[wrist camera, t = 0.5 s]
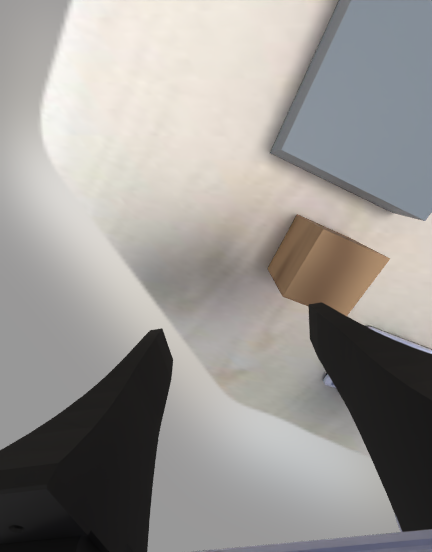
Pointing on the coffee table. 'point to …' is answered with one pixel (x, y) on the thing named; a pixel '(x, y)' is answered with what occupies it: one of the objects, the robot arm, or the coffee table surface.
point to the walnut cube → (323, 266)
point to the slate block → (369, 106)
